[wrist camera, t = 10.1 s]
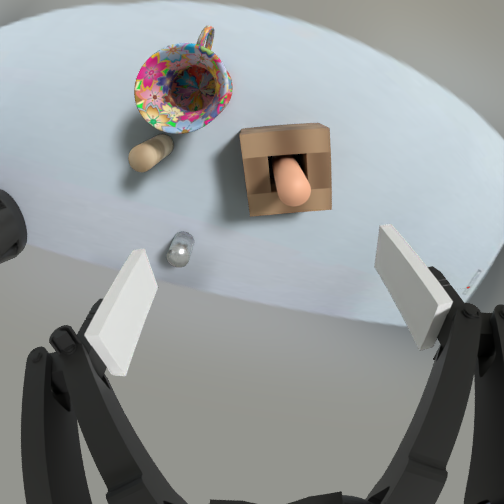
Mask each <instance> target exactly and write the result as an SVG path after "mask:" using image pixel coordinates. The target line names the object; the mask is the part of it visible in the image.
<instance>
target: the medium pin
mask: <svg viewBox="0 0 504 504" xmlns="http://www.w3.org/2000/svg"><path fill="white" fill-rule="evenodd" d="M173 146H174V144H173V141H172V139H171V138H170V137H169V136H168V135H165V134H160V135H157V136H155V137H153V138H151V139H149V140H147V141H145V142H143V143H141V144H139V145H137V146H135V147H134V148H132V150H131V151H130V153H129V157H128V160H129V164H130V166H131V167H132V168H133V169H134V170H135V171H137V172H146V171H148V170H149V169H151V168H152V167H153V166H154V165H156V164H157V163H158V162H160V161H161V160H162V159H164V158H165V157H166V156H168V155H169V154H170V153H171V152H172V150H173Z"/></svg>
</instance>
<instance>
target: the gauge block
mask: <svg viewBox="0 0 504 504" xmlns="http://www.w3.org/2000/svg"><path fill="white" fill-rule="evenodd" d="M239 136H240V143H241V151H242V158H243V166H244V174H245V181H246V189H247V197H248V204H249V212H250V217H251V216H261V215H272V214H283V213H295V212H307V211H319V210H332V187H331V149H330V128H328V127H326V126H324V125H322V124H320V123H306V124H288V125H275V126H264V127H254V128H245V129H242V130H241V132H240V135H239ZM288 154H300V165H301V170H302V171H303V173H304V175H305V177H306V178H307V180H308V182H309V184H310V187H311V194H310V197H309V199H308V200H307V201H306V202H305V203H304V204H302V205H300V206H288V205H286V204H284V203H283V202H282V201H281V200H280V198H279V196H278V192H277V187H276V182H275V178H270V175H269V165H268V156H276V155H288Z"/></svg>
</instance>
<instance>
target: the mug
mask: <svg viewBox="0 0 504 504" xmlns="http://www.w3.org/2000/svg"><path fill="white" fill-rule="evenodd" d="M206 38H207V40H206ZM213 38H214V28H213V27H212V26H206V27H205V28H204V29H203V30H202V32H201V34H200V36H199V38H198V41H197V44H192V43H179V44H174V45H170V46H167V47H165V48H163V49H161V50H159V51H157V52H156V53H155V54H153V55H152V56H151V57H150V58H149V59H148V60H147V61H146V62H145V63H144V65H143V66H142V68H141V69H140V71H139V73H138V76H137V78H136V82H135V89H134V95H135V102H136V105H137V108H138V110H139V112H140V114H141V115H142V117H143V118H144V119H145V120H146V121H147V122H148V123H149V124H150V125H151V126H153V127H154V128H156V129H158V130H160V131H163V132H167V133H173V134H183V133H189V132H193V131H195V130H198V129H200V128H202V127H204V126H205V125H207V124H208V123H210V122H211V121H212V120H213V119H214V118H215V117H216V116H217V115H218V114H219V113H220V112H222V111H223V110H224V108H225V107H226V106H227V104H228V103H229V101H230V98H231V95H232V80H231V77H230V75H229V73H228V72H227V70H226V69H225V66H224V65H223V63H222V61H221V60H220V59H219V58H218V56H217V55H216V54H214V53H213V52H212V51H211V48H212V43H213ZM205 40H206V45H205V47H203V46H204V43H205Z"/></svg>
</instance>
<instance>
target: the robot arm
mask: <svg viewBox="0 0 504 504" xmlns="http://www.w3.org/2000/svg"><path fill="white" fill-rule="evenodd" d="M26 240H27V232H26V226H25V222H24V219H23V216H22V213H21V211H20V209H19V207H18V205H17V204H16V202H15V201H14V200H13V198H12V197H11V196H10V195H9V194H8V193H6V192H5V191H3V190H1V189H0V263H3V262H5V261H8V260H10V259H13V258H15V257H16V256H17V255H18V254H19V253H20V252H21V251H22V250H23V249H24V247H25V245H26ZM374 267H375V268H376V270H377V272H378V274H379V275H380V277H381V279H382V281H383V282H384V284H385V286H386V288H387V289H388V291H389V293H390V295H391V297H392V298H393V300H394V302H395V304H396V306H397V308H398V309H399V311H400V313H401V315H402V317H403V319H404V321H405V323H406V325H407V327H408V329H409V330H410V333H411V335H412V336H413V339H414V340H415V342H416V345H417V347H418V349H419V351H421V350H425V349H428V348H432V347H433V346H434V344H435V342H436V340H437V338H438V340H439V342H440V344H441V345H440V347H439V349H438V351H437V353H436V355H435V357H434V358H433V360H435V361H434V364H433V368H432V370H431V374H430V376H429V379H428V382H427V385H426V388H425V390H424V392H423V395H422V398H421V400H420V403H419V405H418V407H417V410H416V412H415V414H414V417H413V419H412V422H411V424H410V426H409V428H408V430H407V432H406V434H405V436H404V438H403V440H402V442H401V444H400V446H399V448H398V450H397V452H396V454H395V456H394V457H393V459H392V461H391V463H390V465H389V466H388V468H387V470H386V471H385V473H384V475H383V476H382V478H381V479H380V480H379V481H378V483H377V484H376V485H375V487H374V488H373V489H372V491H371V492H370V493H369V495H368V497H367V498H366V499H362V498H358V497H354V496H347V495H342V492H335V493H330V494H324V495H317V496H311V497H307V498H304V499H301V500H298V501H295V502H292V503H288V504H435V503H436V501H437V499H438V497H439V495H440V493H441V491H442V489H443V486H444V484H445V481H446V479H447V474H448V472H447V471H446V465H447V462H448V460H449V457H450V455H451V452H452V449H453V447H454V444H455V441H456V438H457V436H458V433H459V429H460V426H461V423H462V420H463V417H464V413H465V409H466V406H467V402H468V398H469V394H470V390H471V385H472V381H473V376H474V375H475V419H474V435H473V446H472V455H471V462H470V469H469V475H468V481H467V487H466V492H465V498H464V504H504V305H497V306H496V307H495V309H494V311H493V313H481V312H480V310H479V309H478V308H477V307H476V306H475V305H473V304H470V303H464V302H463V301H462V299H461V298H460V296H459V295H458V294H457V292H456V291H455V290H454V288H453V287H452V286H451V285H450V283H449V282H448V281H447V280H446V278H445V277H444V276H443V274H442V273H441V272H440V271H439V270H437V269H436V268H434V267H433V266H432V267H427V266H426V265H425V264H424V262H423V261H422V260H421V259H420V257H419V256H418V255H417V254H416V252H415V251H414V250H413V249H412V248H411V246H410V245H409V244H408V243H407V242H406V241H405V239H404V238H403V237H402V236H401V235H400V234H399V232H398V231H397V230H396V229H395V228H394V227H393V226H392V224H389V225H379V234H378V243H377V251H376V258H375V266H374ZM157 289H158V285H157V283H156V280H155V277H154V274H153V272H152V269H151V266H150V263H149V260H148V257H147V254H146V251H145V249H138V250H133V251H132V252H131V254H130V256H129V257H128V259H127V260H126V262H125V264H124V265H123V267H122V269H121V270H120V272H119V274H118V275H117V277H116V278H115V280H114V282H113V284H112V285H111V287H110V289H109V290H108V292H107V294H106V296H105V297H104V299H99V300H98V301H97V302H96V303H95V304H94V305H93V307H92V308H91V311H90V312H89V314H88V316H87V317H86V320H85V321H84V323H83V325H82V327H81V328H80V331H79V332H78V334H77V335H76V334H75V332H74V330H73V329H72V327H71V326H68V325H64V326H61V327H59V328H58V329H56V330H55V331H54V332H53V333H52V334H51V336H50V339H49V343H50V344H51V345H52V347H53V348H54V349H55V351H56V352H54V353H48V352H47V350H46V349H45V348H44V347H37V348H35V349H33V350H32V351H31V352H30V354H29V355H28V358H27V362H26V369H25V378H24V387H23V398H22V415H21V455H22V471H23V481H24V490H25V497H26V503H27V504H92V502H91V498H90V494H89V490H88V485H87V481H86V476H85V471H84V466H83V460H82V454H81V449H80V441H79V434H78V425H77V420H78V423H79V425H80V428H81V431H82V433H83V436H84V438H85V441H86V443H87V445H88V448H89V450H90V452H91V455H92V457H93V459H94V462H95V464H96V466H97V468H98V470H99V472H100V474H101V476H102V478H103V480H104V482H105V484H106V486H107V488H108V492H107V494H106V499H107V501H108V504H187V503H186V501H185V500H183V498H182V497H181V496H179V495H178V494H177V493H176V492H175V491H174V490H173V488H172V487H171V486H170V484H169V483H168V482H167V480H166V479H165V478H164V476H163V475H162V473H161V472H160V471H159V469H158V467H157V466H156V465H155V463H154V462H153V460H152V459H151V457H150V455H149V454H148V452H147V451H146V449H145V448H144V446H143V444H142V443H141V441H140V439H139V438H138V436H137V434H136V433H135V431H134V429H133V427H132V426H131V424H130V422H129V420H128V418H127V416H126V415H125V413H124V411H123V409H122V407H121V405H120V403H119V401H118V399H117V397H116V395H115V393H114V391H113V389H112V387H111V385H110V383H109V380H108V378H107V377H106V376H105V374H104V373H105V370H106V368H107V369H108V370H109V371H110V373H111V374H112V375H118V376H126V374H127V371H128V368H129V365H130V362H131V359H132V356H133V353H134V350H135V347H136V344H137V342H138V339H139V336H140V333H141V331H142V328H143V325H144V322H145V320H146V317H147V315H148V312H149V309H150V307H151V304H152V302H153V299H154V296H155V294H156V292H157ZM210 504H255V503H250V502H245V501H232V500H230V501H229V500H210Z"/></svg>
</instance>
